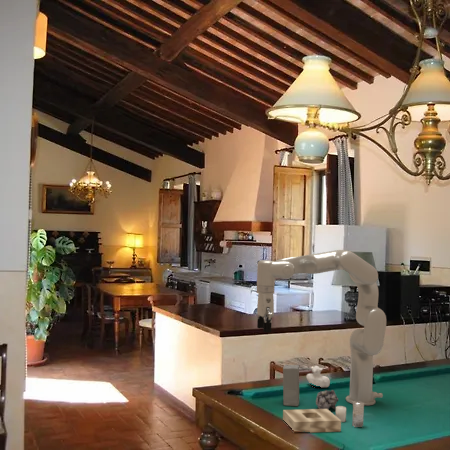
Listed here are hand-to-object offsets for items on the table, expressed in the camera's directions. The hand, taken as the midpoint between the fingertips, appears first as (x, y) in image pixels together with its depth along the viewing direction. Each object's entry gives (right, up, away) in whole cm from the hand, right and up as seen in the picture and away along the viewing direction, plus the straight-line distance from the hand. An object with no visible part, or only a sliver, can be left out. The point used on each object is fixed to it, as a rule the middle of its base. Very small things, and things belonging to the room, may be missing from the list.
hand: (264, 330), depth 244 cm
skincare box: (+11, -32, +2) cm, 34 cm away
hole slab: (+16, -32, -25) cm, 44 cm away
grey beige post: (+34, -32, -23) cm, 53 cm away
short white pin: (+29, -32, -17) cm, 47 cm away
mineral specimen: (+25, -32, -5) cm, 41 cm away
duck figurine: (+27, -33, +30) cm, 52 cm away
